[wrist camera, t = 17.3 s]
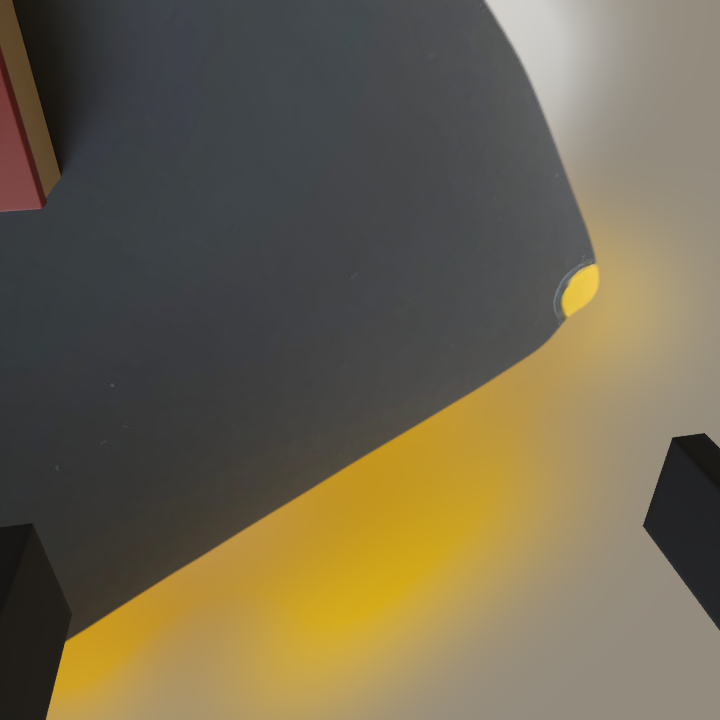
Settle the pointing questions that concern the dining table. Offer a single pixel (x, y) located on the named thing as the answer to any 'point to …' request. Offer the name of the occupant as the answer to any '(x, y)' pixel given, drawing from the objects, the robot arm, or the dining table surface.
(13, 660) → the robot arm
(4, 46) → the book
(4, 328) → the dining table surface
